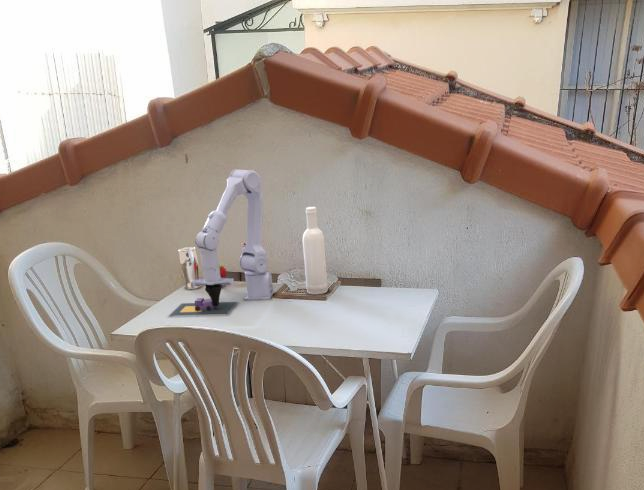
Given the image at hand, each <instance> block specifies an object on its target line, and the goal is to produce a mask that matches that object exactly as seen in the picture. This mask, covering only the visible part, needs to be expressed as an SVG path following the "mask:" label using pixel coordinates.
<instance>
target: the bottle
mask: <svg viewBox="0 0 644 490" xmlns="http://www.w3.org/2000/svg"><path fill="white" fill-rule="evenodd" d="M317 213H318V211H317V207H316V206H307V207H306V208H305V216H306V227H307V228H306V229H305V231H304V232H303V235H302V251H303V260H304V261H303V263H304V272H305V273H304V274H305V286H306V293H307V294H309V295H323V294H325V293H328V291H329V289H327V288H328V287H329V285H328V274H327V273H328V272H327V260H326V258H327V257H326V246H325V245H326V244H325V235H324V233H323V231H322V230H321V229H320V228H319V227H318V215H317ZM326 289H327V290H326ZM324 290H325V291H324Z"/></svg>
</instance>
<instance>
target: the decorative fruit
mask: <svg viewBox="0 0 644 490" xmlns="http://www.w3.org/2000/svg"><path fill="white" fill-rule="evenodd" d="M219 270H220V276H221V278H227V269H226V268H225V267H224V265H223V264H219Z"/></svg>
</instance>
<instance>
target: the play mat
mask: <svg viewBox="0 0 644 490" xmlns="http://www.w3.org/2000/svg"><path fill="white" fill-rule="evenodd" d="M237 302H238V301H221V302H220V301H219V305H218V306H215V308H214V309H213V310H199V311H197V310H196V311H195V302H189V303H187V302H186V303H181V304H179V306H178V307H177V308H176V309H175V310H174V311H172V313H170V314H169V317H176V316H178V317H179V316H206V315H207V316H209V315H213V316H214V315H228V314H229V312H230V311H231V310H232V309H233V308H234V307H235V306H236V304H237Z"/></svg>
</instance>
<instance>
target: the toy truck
mask: <svg viewBox="0 0 644 490" xmlns="http://www.w3.org/2000/svg"><path fill="white" fill-rule="evenodd" d="M194 303H195V311H196V310H197V311H199V310H213V309H214V308H215V306H214V304H213V302H212V300H211V298H205V297H197V298H196V299H195V300H194Z"/></svg>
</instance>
